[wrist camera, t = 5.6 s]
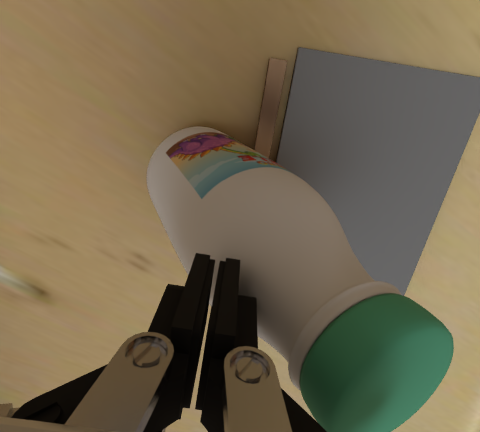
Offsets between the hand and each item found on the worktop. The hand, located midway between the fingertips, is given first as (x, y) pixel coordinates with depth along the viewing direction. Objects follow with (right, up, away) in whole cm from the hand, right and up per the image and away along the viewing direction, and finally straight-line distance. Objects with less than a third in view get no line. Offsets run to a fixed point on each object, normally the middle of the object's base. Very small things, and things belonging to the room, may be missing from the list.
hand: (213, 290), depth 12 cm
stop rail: (+2, +6, +15) cm, 16 cm away
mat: (+11, +5, +15) cm, 19 cm away
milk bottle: (-2, +6, +14) cm, 15 cm away
